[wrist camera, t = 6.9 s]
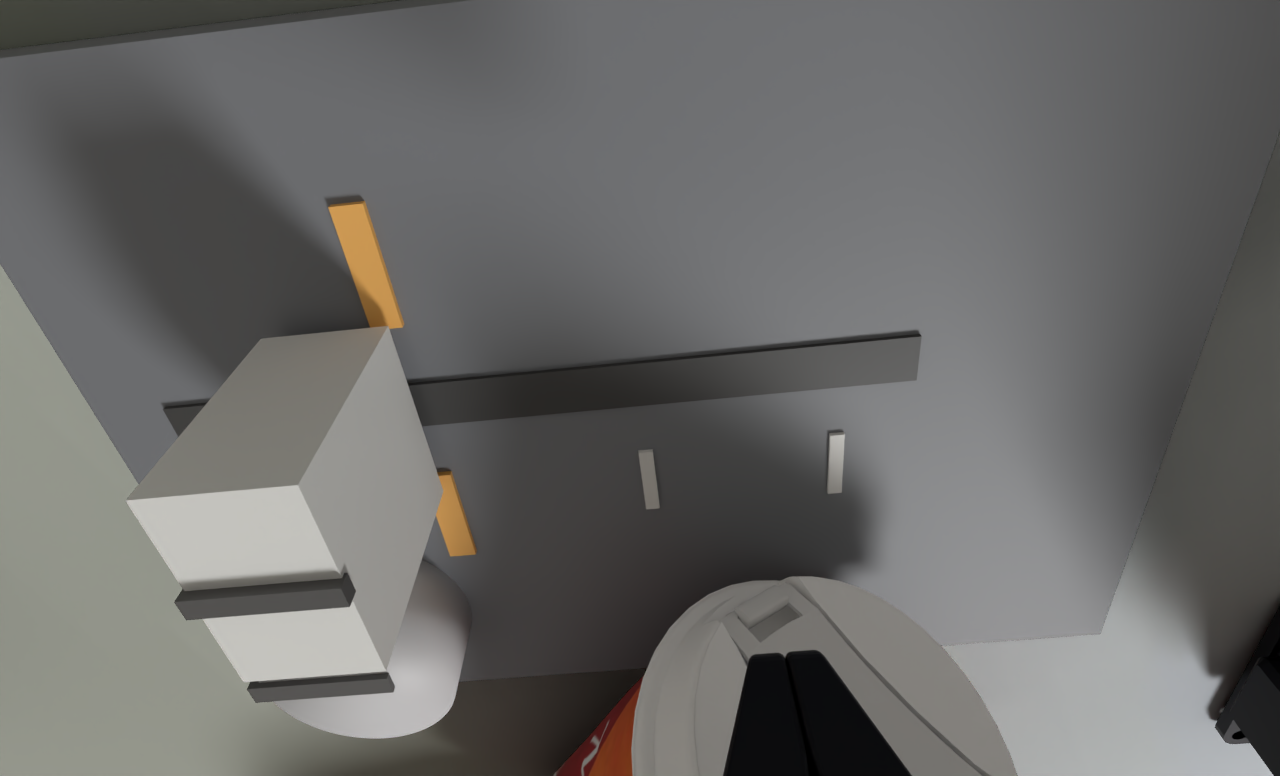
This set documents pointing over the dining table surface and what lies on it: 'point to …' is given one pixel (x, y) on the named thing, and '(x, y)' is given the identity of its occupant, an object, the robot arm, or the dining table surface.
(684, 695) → the coffee cup
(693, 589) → the console
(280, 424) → the fader
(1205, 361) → the dining table surface
